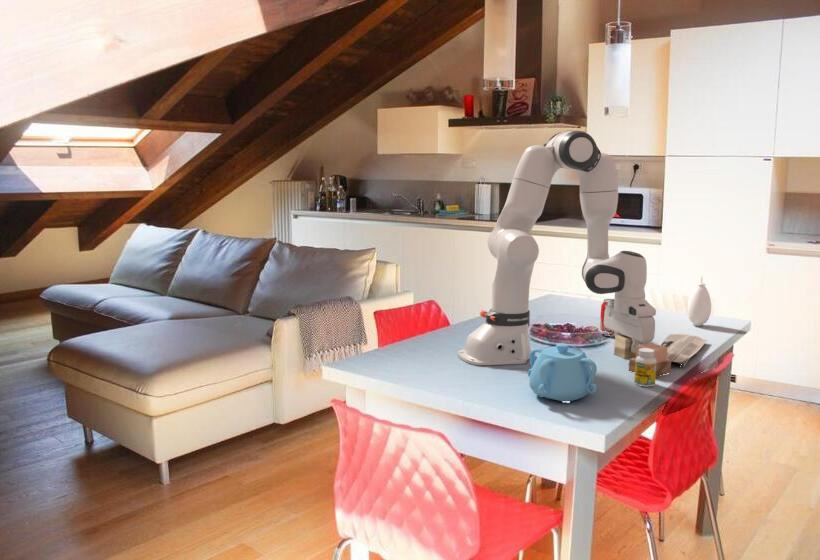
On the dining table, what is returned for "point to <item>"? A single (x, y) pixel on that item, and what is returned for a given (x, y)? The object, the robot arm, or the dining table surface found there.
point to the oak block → (623, 347)
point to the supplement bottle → (645, 368)
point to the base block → (660, 367)
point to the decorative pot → (561, 373)
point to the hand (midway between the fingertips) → (626, 349)
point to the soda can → (602, 327)
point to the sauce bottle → (699, 305)
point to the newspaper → (682, 347)
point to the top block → (659, 351)
